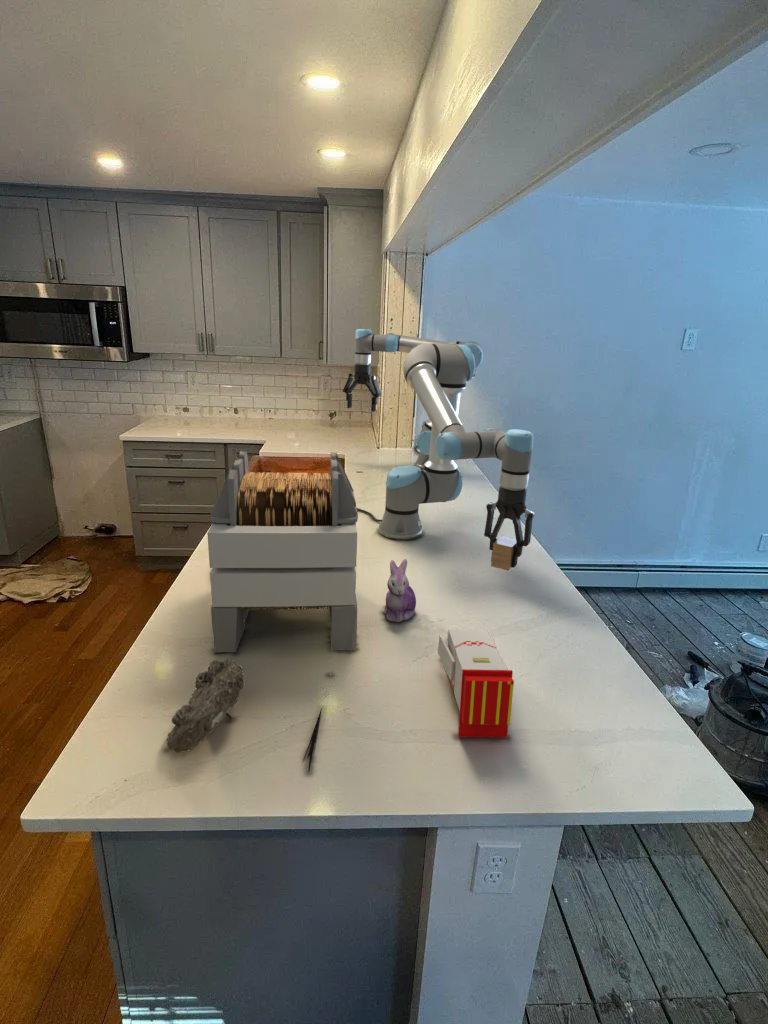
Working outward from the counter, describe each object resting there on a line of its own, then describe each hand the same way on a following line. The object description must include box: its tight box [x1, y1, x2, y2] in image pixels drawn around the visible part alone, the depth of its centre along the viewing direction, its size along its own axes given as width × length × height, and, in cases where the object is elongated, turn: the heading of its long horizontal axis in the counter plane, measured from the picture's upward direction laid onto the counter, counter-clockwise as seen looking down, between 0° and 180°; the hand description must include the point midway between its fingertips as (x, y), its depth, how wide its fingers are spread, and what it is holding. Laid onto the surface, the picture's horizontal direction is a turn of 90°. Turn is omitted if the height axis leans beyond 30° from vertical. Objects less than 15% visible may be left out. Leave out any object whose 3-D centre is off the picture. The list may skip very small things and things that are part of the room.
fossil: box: [166, 658, 245, 754], centre depth 106 cm, size 22×10×15 cm
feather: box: [301, 673, 332, 771], centre depth 108 cm, size 2×28×2 cm
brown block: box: [490, 535, 517, 572], centre depth 163 cm, size 7×5×7 cm
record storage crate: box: [206, 450, 359, 654], centre depth 137 cm, size 34×33×41 cm
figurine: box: [384, 558, 417, 623], centre depth 145 cm, size 9×10×15 cm
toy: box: [437, 628, 515, 738], centre depth 117 cm, size 12×13×30 cm
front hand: (503, 563), depth 164 cm, fingers closed on brown block, 5 cm apart
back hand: (361, 409), depth 271 cm, fingers open, 13 cm apart
